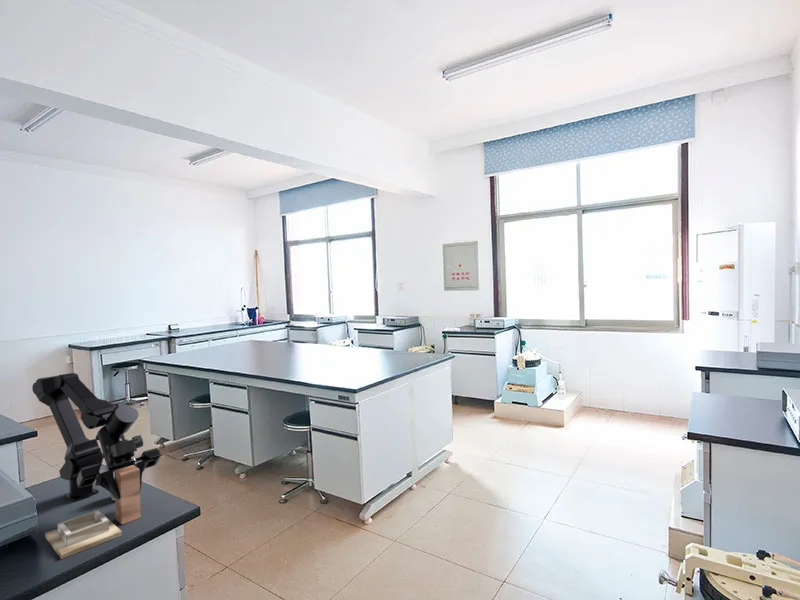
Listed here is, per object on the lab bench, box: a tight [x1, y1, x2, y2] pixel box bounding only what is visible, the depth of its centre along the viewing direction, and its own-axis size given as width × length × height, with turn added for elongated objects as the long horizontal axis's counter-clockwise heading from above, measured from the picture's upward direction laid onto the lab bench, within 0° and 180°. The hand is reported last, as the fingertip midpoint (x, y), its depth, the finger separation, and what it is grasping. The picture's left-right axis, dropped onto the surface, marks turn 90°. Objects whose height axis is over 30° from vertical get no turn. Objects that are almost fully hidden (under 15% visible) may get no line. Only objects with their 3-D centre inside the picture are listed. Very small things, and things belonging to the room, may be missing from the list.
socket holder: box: [44, 509, 123, 560], centre depth 105 cm, size 14×12×4 cm
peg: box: [114, 465, 141, 525], centre depth 113 cm, size 4×4×13 cm
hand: (129, 495), depth 112 cm, fingers closed on peg, 4 cm apart
